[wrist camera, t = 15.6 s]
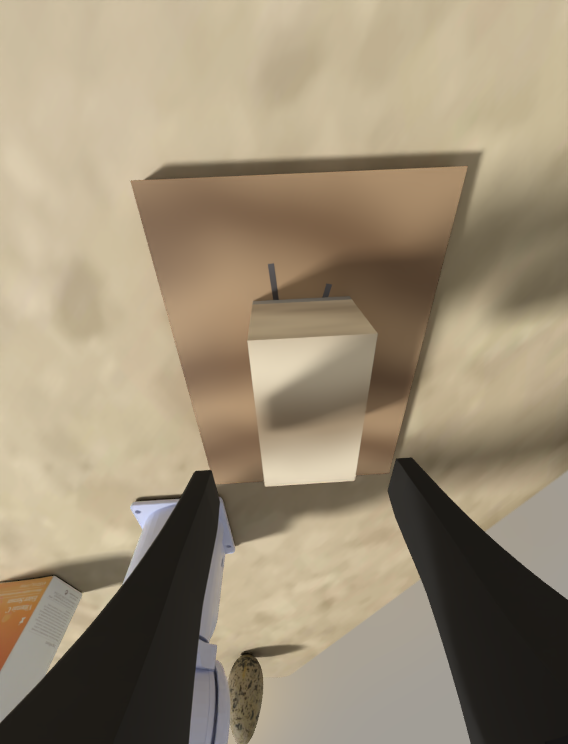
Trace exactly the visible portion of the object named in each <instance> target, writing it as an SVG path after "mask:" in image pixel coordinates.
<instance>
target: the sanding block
mask: <svg viewBox="0 0 568 744" xmlns="http://www.w3.org/2000/svg"><path fill="white" fill-rule="evenodd" d="M377 335H378V333H377V332H376V331H375V329H374V328H373V327H372V325H371V324H370V323H369V321H368V320H367V319H366V317H365V316H364V315H363V313H362V312H361V311H360V309H359V308H358V307H357V305H356V304H355V303H354V301H353V300H352V299H351V297H350V296H343V297H324V298H304V299H285V300H266V301H253V303H252V310H251V318H250V325H249V332H248V339H247V342H248V350H249V359H250V367H251V375H252V384H253V392H254V400H255V408H256V417H257V425H258V433H259V442H260V450H261V458H262V467H263V475H264V483H265V487H267V486H283V485H298V484H314V483H329V482H345V481H355V475H356V469H357V463H358V456H359V450H360V443H361V437H362V431H363V424H364V418H365V411H366V405H367V399H368V392H369V386H370V380H371V373H372V367H373V360H374V354H375V348H376V341H377Z"/></svg>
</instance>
